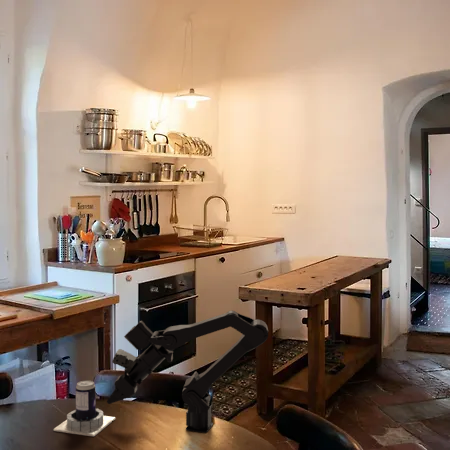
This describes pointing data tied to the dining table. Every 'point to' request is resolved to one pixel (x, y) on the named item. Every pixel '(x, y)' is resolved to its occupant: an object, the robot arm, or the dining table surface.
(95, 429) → the collar seat
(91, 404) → the beverage can
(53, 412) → the dining table surface
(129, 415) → the dining table surface
